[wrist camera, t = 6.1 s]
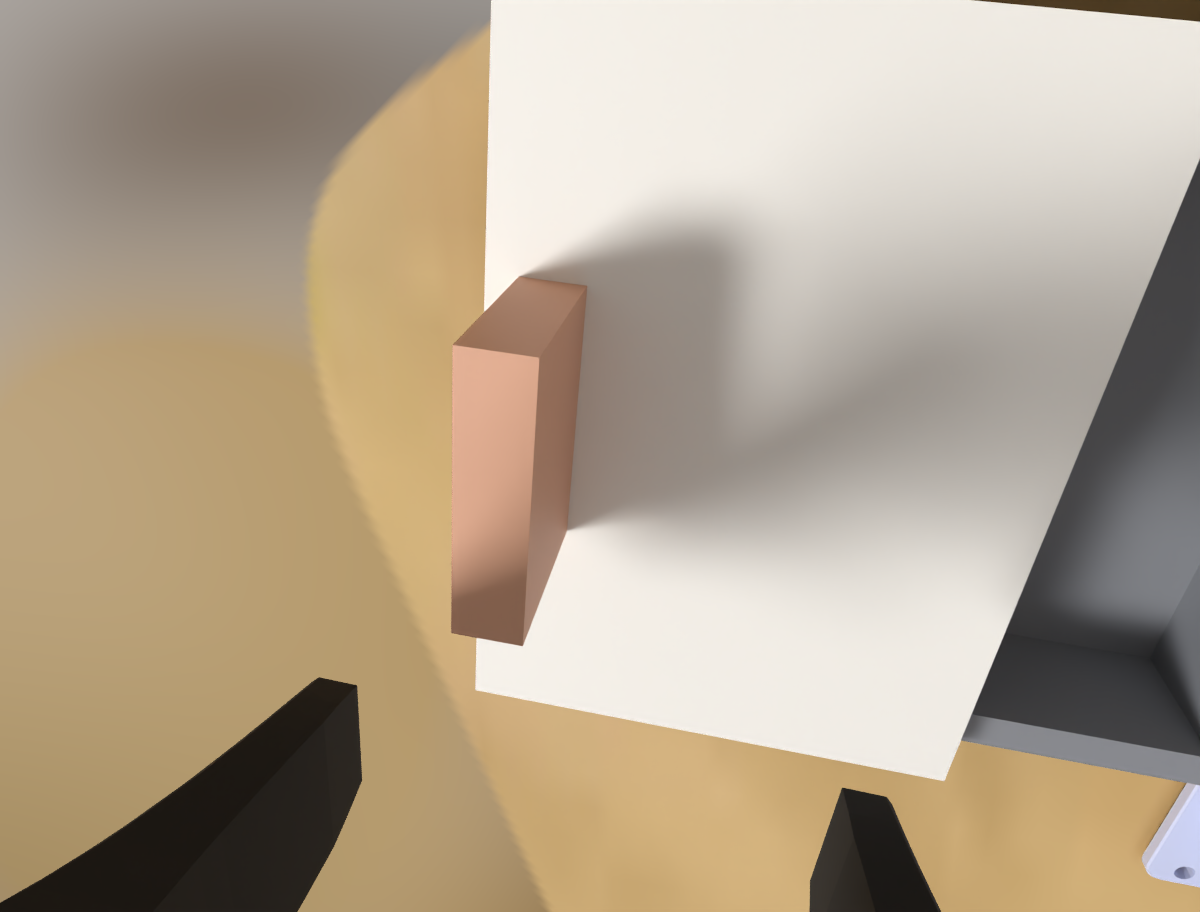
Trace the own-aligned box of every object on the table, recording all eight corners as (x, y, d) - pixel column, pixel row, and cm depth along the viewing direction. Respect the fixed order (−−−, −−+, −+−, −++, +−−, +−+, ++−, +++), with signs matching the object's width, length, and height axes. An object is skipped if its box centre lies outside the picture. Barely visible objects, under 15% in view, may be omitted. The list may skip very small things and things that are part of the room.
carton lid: (1224, 26, 12) (1447, 26, 8) (936, 752, 18) (982, 938, 15) (507, -41, 13) (401, -70, 9) (485, 666, 20) (420, 818, 16)
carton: (1474, 74, 15) (1696, 89, 11) (1157, 666, 21) (1235, 791, 18) (904, 19, 16) (944, 17, 12) (769, 599, 22) (771, 704, 19)
